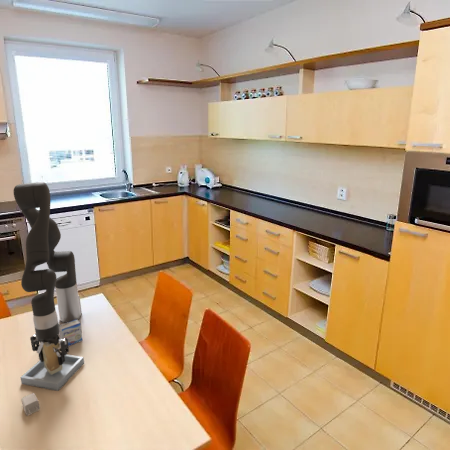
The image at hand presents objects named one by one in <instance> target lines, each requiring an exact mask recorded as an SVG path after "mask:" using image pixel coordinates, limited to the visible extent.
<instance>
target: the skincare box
mask: <svg viewBox="0 0 450 450" xmlns="http://www.w3.org/2000/svg"><path fill="white" fill-rule="evenodd" d="M47 343H48V342H45V343H44V345H43V349H42V352H43V358H44V365H45V368H46V369H47V371H48V372H49V373H50V374H51V375H52V374H54V373H56V372H59V371H61V370H62V369H63V367H62V365H59V362H58V355H57V354H56V353H54V352H53V347H55V349H57V348H60V346H59V342H58V344H57V345H56V346H55V344H54V343H51V344H47ZM59 352H61V351H60V349H59Z"/></svg>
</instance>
